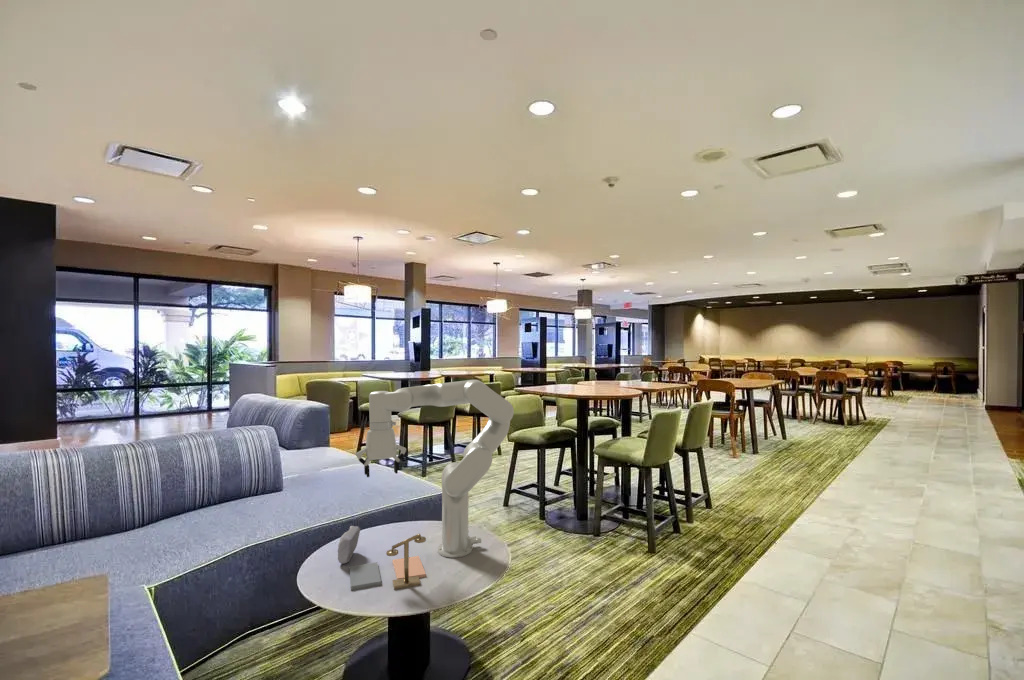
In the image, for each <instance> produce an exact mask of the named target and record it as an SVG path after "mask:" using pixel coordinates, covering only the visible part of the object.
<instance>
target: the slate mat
mask: <svg viewBox="0 0 1024 680" xmlns="http://www.w3.org/2000/svg"><path fill="white" fill-rule="evenodd" d="M349 582H350V591H353V590H358V589H359V590H360V589H366V588H370V587H376V586H382V578H381V574H380V569H379V563H378V561H376V562H369V563H364V564H356V565H350V566H349Z"/></svg>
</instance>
